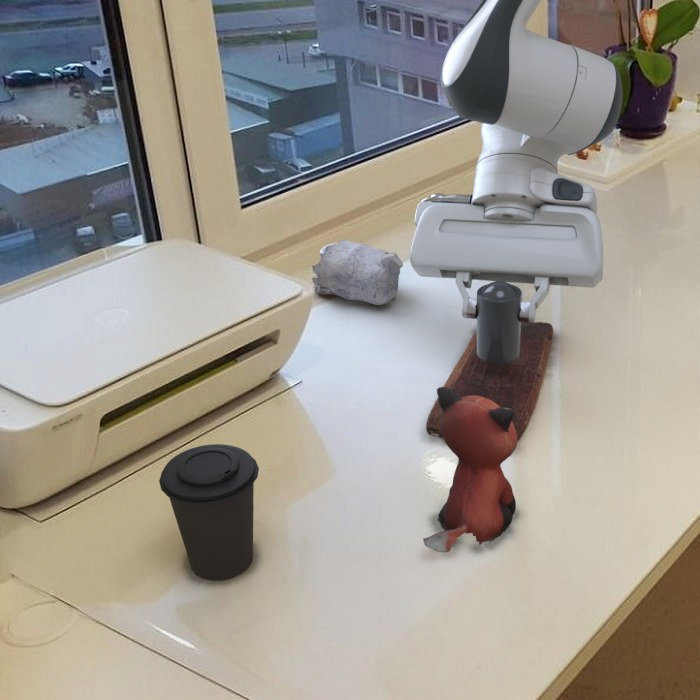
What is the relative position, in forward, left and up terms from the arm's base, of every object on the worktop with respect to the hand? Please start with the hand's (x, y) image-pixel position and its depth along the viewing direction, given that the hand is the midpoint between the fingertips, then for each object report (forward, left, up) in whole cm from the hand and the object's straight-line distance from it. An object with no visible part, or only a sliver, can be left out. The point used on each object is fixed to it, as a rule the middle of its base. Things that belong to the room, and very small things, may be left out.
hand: (498, 319), depth 111 cm
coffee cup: (+28, +26, -8) cm, 39 cm away
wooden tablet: (0, -1, -8) cm, 8 cm away
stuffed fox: (+7, +24, -8) cm, 27 cm away
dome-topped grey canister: (0, -1, -4) cm, 4 cm away
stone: (+14, -25, -8) cm, 29 cm away
